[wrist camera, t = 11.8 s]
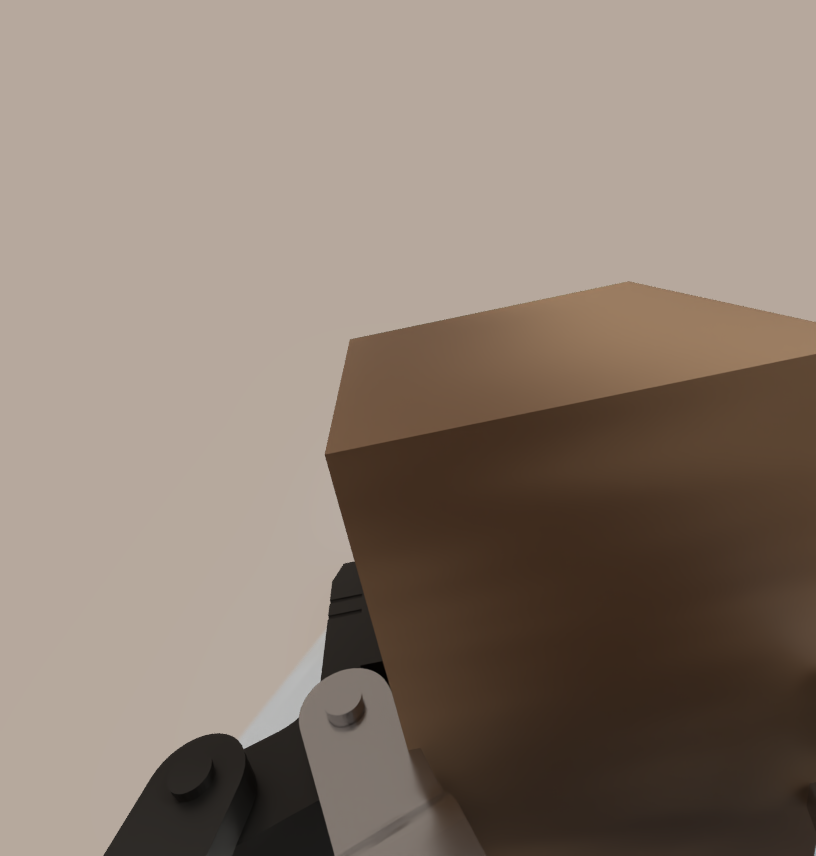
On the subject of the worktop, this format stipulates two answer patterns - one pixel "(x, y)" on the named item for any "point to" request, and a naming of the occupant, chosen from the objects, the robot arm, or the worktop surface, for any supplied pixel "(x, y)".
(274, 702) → the worktop surface
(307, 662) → the worktop surface
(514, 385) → the walnut block
